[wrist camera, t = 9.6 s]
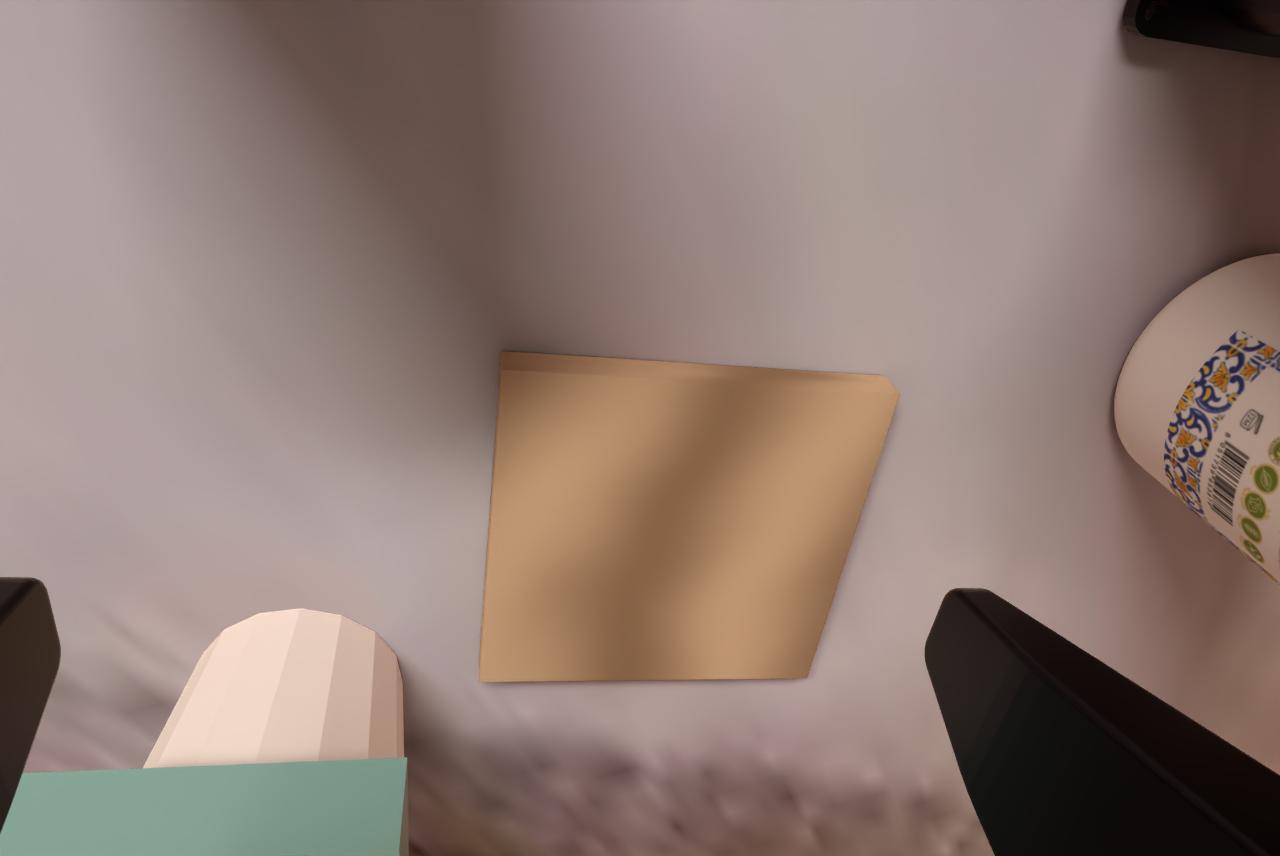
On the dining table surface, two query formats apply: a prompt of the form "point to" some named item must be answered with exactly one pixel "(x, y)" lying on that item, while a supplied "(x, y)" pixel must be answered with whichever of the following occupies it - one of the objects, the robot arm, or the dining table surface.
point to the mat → (670, 516)
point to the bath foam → (1213, 404)
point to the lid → (214, 811)
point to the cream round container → (287, 695)
